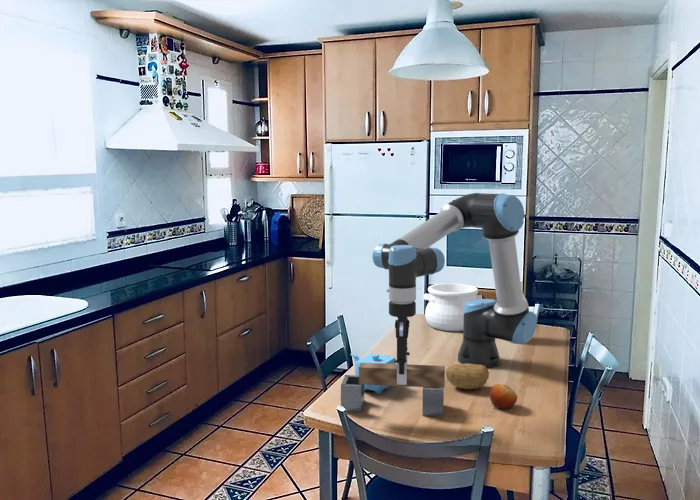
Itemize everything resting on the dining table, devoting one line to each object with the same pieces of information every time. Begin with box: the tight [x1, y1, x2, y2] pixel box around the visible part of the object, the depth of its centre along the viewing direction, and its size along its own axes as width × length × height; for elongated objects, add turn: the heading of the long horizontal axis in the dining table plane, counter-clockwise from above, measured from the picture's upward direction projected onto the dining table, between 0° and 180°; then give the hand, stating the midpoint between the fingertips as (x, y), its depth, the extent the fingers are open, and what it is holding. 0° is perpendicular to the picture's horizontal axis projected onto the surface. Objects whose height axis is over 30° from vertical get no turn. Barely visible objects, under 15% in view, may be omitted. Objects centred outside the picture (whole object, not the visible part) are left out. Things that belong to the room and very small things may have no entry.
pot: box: [423, 282, 483, 332], centre depth 269 cm, size 26×24×18 cm
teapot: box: [350, 352, 397, 395], centre depth 195 cm, size 16×18×11 cm
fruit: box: [489, 383, 518, 410], centre depth 179 cm, size 8×8×8 cm
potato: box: [445, 363, 490, 390], centre depth 194 cm, size 10×14×8 cm
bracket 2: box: [422, 387, 445, 418], centre depth 177 cm, size 6×9×8 cm, turn 172°
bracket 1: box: [340, 374, 365, 413], centre depth 180 cm, size 6×9×8 cm, turn 172°
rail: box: [359, 363, 446, 389], centre depth 169 cm, size 24×4×5 cm, turn 81°
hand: (402, 380), depth 169 cm, fingers closed on rail, 4 cm apart
